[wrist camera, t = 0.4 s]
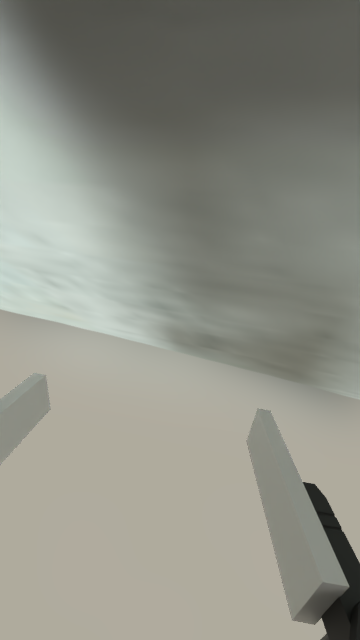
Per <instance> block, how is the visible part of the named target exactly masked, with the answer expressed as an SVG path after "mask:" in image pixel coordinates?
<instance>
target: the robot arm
mask: <svg viewBox="0 0 360 640" xmlns="http://www.w3.org/2000/svg"><path fill="white" fill-rule="evenodd" d="M49 410H50V402H49V395H48V387H47V380H46V375H44V374H37V373H33V374H32V375H31V376H30V377H28V378H27V379H26V380H24V381H23V382H22V383H21V384H19V385H18V386H17V387H15V388H14V389H13V390H12V391H10V392H9V393H8V394H6V395H5V396H4V397H2V398H1V399H0V465H1V463H2V462H3V461H4V460H5V459H6V458H7V457H8V456H9V455H10V453H11V452H12V451H13V450H14V449H15V448H16V447H17V446H18V445H19V444H20V442H21V441H22V440H23V439H24V438H25V437H26V436H27V435H28V434H29V432H30V431H31V430H32V429H33V428H34V427H35V426H36V425H37V423H38V422H39V421H40V420H41V419H42V418H43V417H44V416H45V415H46V413H48V411H49ZM247 445H248V449H249V453H250V457H251V461H252V465H253V469H254V473H255V476H256V481H257V484H258V488H259V492H260V496H261V500H262V504H263V508H264V512H265V516H266V519H267V524H268V528H269V531H270V535H271V539H272V543H273V547H274V551H275V555H276V559H277V563H278V567H279V571H280V575H281V579H282V583H283V587H284V590H285V594H286V598H287V602H288V606H289V610H290V614H291V618H292V620H293V621H298V622H303V623H309V624H314V625H315V624H316V623H317V622H318V621H319V620H320V619H321V618H322V620H323V622H324V626H325V629H326V632H327V634H326V635H325V636H324V637H323V638H322V639H321V640H360V563H359V561H358V559H357V557H356V555H355V553H354V551H353V549H352V547H351V546H350V544H349V542H348V540H347V538H346V536H345V534H344V532H342V530H341V526H340V524H339V522H338V520H337V518H335V516H334V513H333V511H332V509H331V507H330V505H329V503H328V501H327V499H326V497H325V496H324V495H323V494H322V493H321V491H320V490H319V489H318V488H317V486H316V485H315V484H311V483H305V482H302V480H301V478H300V475H299V473H298V471H297V469H296V466H295V465H294V462H293V460H292V458H291V455H290V453H289V451H288V449H287V447H286V444H285V442H284V440H283V438H282V436H281V433H280V431H279V429H278V426H277V424H276V422H275V420H274V418H273V416H272V413H271V411H269V410H263V409H257V412H256V415H255V418H254V421H253V424H252V427H251V430H250V433H249V436H248V439H247Z"/></svg>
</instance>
